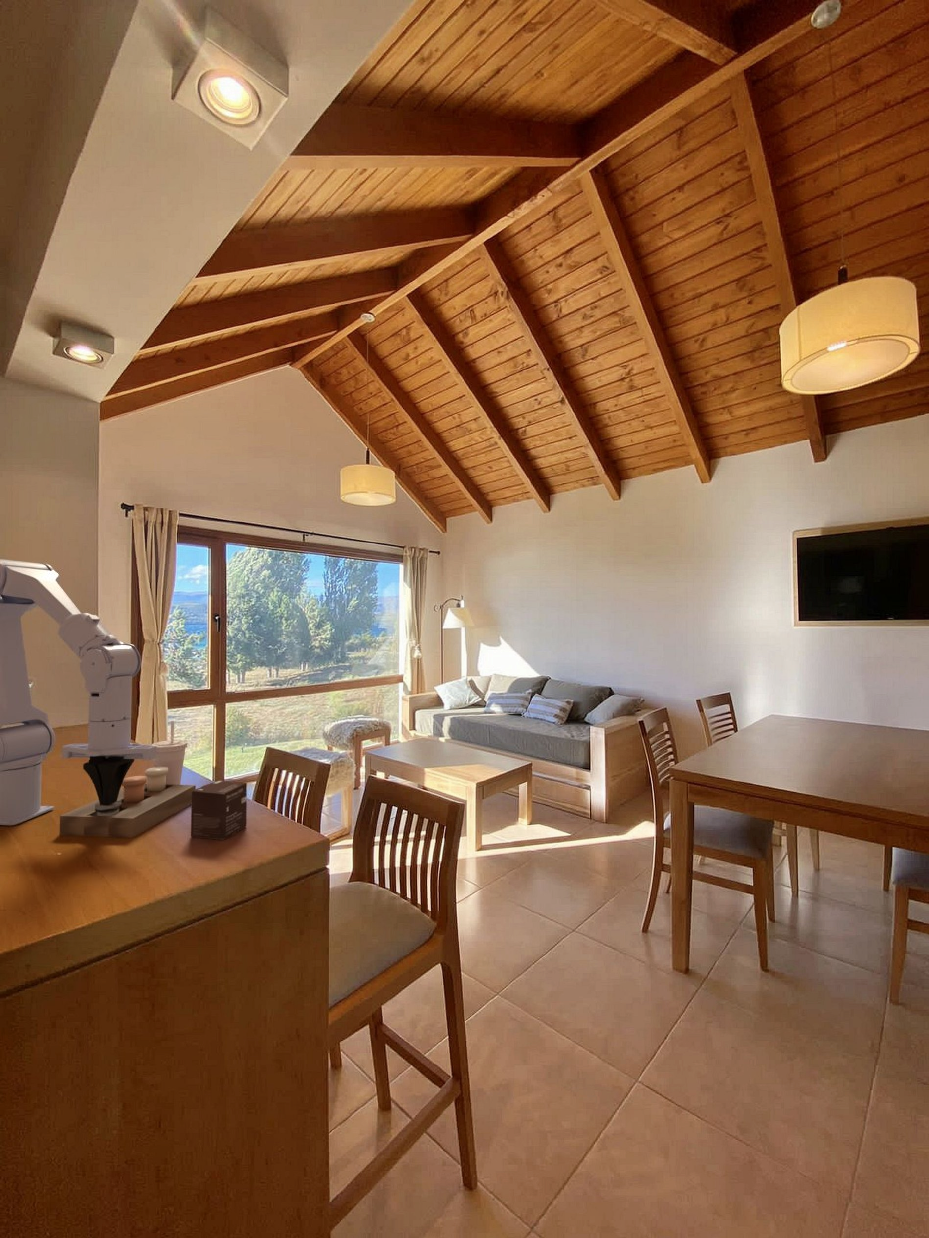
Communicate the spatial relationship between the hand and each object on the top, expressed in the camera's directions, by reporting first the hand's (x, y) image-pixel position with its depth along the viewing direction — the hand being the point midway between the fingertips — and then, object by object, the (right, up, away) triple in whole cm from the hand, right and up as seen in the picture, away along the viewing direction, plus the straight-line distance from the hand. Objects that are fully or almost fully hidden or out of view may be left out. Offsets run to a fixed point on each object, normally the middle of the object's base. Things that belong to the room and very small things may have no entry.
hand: (108, 803), depth 84 cm
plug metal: (0, -4, 0) cm, 4 cm away
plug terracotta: (0, -2, +6) cm, 6 cm away
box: (+18, -5, 0) cm, 19 cm away
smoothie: (-1, -5, +19) cm, 20 cm away
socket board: (0, -4, +6) cm, 7 cm away
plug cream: (+1, -2, +12) cm, 12 cm away
